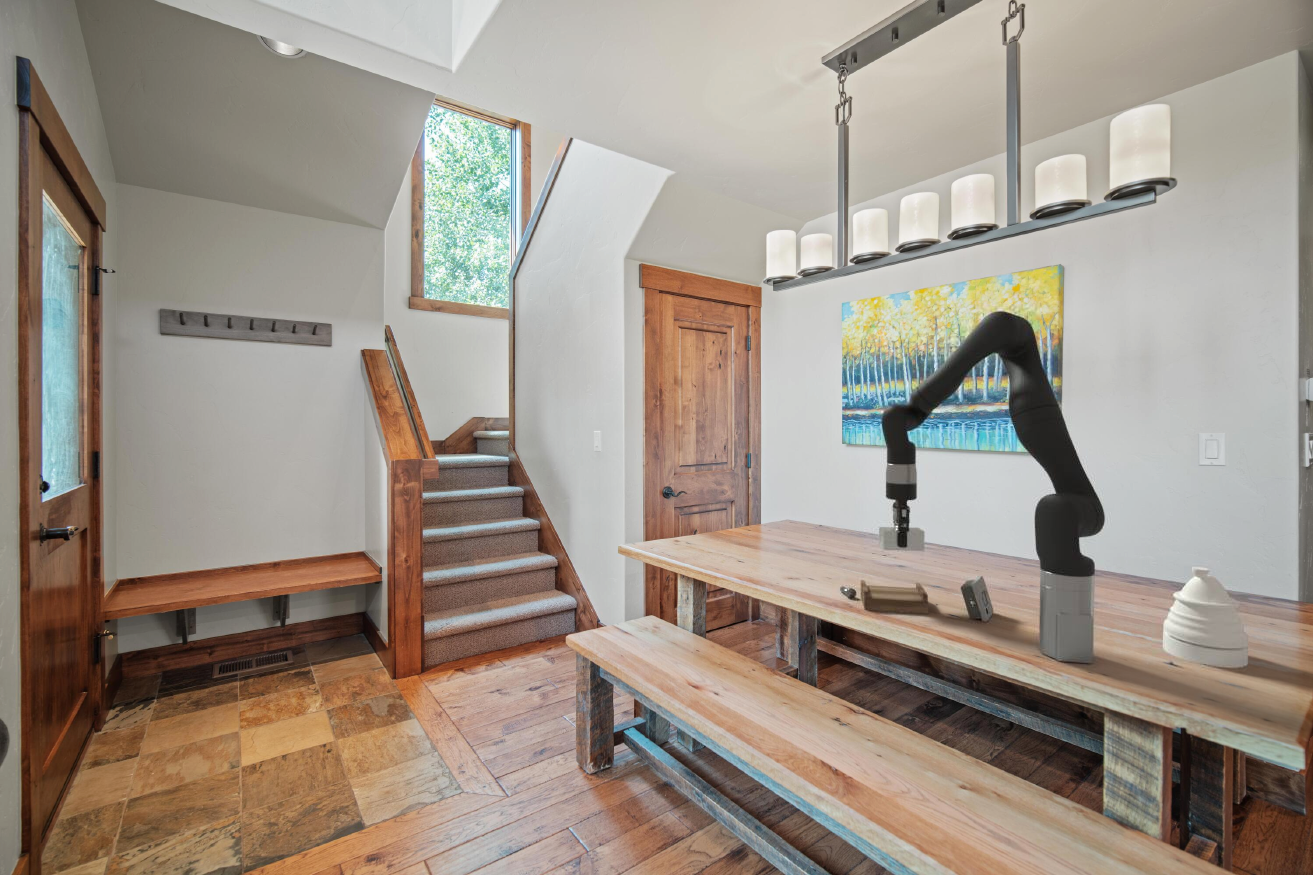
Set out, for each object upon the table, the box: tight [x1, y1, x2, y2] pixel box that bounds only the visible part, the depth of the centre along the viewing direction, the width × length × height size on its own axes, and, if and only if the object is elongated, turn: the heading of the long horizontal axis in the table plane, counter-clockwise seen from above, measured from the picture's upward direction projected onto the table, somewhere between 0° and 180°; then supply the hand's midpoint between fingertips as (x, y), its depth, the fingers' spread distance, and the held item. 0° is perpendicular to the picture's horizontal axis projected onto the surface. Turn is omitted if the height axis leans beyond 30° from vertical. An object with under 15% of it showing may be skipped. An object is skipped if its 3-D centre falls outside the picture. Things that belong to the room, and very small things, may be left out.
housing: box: [878, 525, 925, 552], centre depth 158 cm, size 6×10×6 cm, turn 82°
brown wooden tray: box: [860, 579, 929, 615], centre depth 157 cm, size 12×15×4 cm
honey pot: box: [1162, 566, 1249, 669], centre depth 123 cm, size 13×13×18 cm
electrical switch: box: [960, 575, 995, 623], centre depth 148 cm, size 9×5×9 cm, turn 141°
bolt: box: [839, 585, 857, 599], centre depth 166 cm, size 6×3×3 cm, turn 6°
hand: (901, 544), depth 158 cm, fingers closed on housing, 6 cm apart
